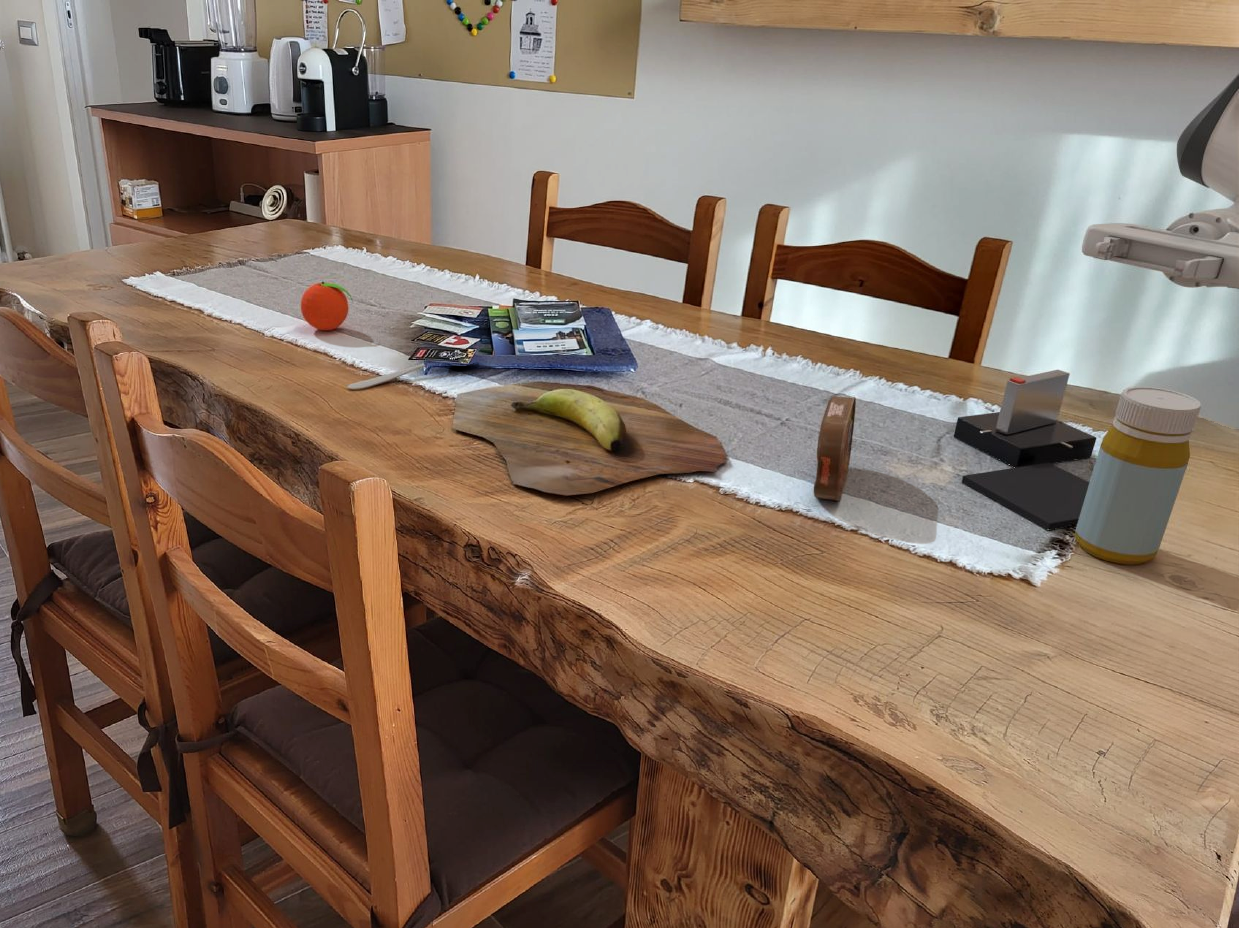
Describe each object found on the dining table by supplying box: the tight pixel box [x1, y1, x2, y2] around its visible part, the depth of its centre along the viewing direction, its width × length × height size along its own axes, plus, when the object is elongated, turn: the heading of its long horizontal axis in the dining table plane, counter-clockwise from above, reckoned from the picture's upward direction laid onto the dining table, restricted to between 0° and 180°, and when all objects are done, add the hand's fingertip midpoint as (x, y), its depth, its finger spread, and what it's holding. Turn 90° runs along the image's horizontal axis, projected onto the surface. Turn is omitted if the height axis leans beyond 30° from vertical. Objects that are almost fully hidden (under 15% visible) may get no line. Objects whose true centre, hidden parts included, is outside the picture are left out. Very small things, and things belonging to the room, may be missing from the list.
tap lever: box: [995, 369, 1071, 435], centre depth 117 cm, size 9×2×6 cm, turn 121°
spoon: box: [346, 363, 426, 391], centre depth 136 cm, size 4×21×2 cm, turn 128°
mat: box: [961, 463, 1090, 531], centre depth 107 cm, size 12×12×1 cm
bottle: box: [1074, 386, 1202, 566], centre depth 94 cm, size 7×7×15 cm
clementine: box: [300, 281, 354, 332], centre depth 152 cm, size 8×7×7 cm
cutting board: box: [452, 380, 729, 496], centre depth 119 cm, size 35×27×4 cm
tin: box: [813, 396, 857, 502], centre depth 107 cm, size 15×3×8 cm, turn 160°
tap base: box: [953, 406, 1097, 468], centre depth 119 cm, size 13×13×3 cm
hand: (1139, 260), depth 117 cm, fingers open, 8 cm apart
